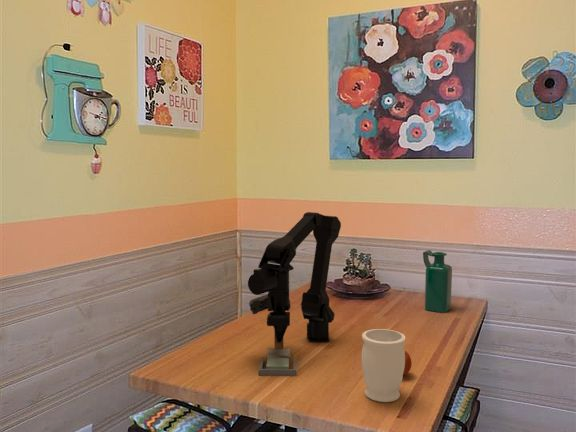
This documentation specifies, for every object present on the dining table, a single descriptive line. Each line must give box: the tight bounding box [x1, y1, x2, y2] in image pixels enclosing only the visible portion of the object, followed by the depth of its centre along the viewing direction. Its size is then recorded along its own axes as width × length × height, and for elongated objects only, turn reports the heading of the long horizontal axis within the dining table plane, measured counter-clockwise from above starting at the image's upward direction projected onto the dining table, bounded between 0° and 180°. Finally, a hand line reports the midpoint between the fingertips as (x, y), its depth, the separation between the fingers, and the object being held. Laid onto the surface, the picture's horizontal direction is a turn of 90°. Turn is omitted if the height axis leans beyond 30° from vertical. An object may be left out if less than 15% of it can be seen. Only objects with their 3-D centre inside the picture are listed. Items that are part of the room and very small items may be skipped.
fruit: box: [403, 350, 413, 376], centre depth 141 cm, size 7×7×8 cm
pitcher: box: [422, 249, 453, 314], centre depth 201 cm, size 10×8×22 cm
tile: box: [265, 357, 290, 369], centre depth 146 cm, size 6×6×2 cm
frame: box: [258, 356, 297, 377], centre depth 146 cm, size 10×9×2 cm
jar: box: [361, 328, 406, 403], centre depth 129 cm, size 11×10×15 cm
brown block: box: [267, 330, 291, 361], centre depth 153 cm, size 6×4×9 cm, turn 89°
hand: (279, 340), depth 153 cm, fingers closed on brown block, 2 cm apart
